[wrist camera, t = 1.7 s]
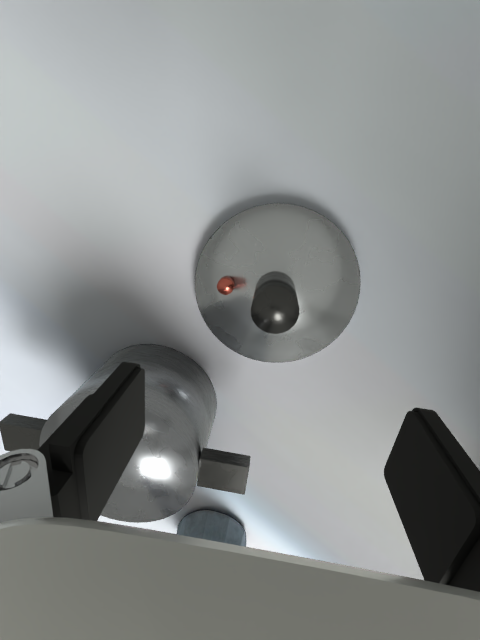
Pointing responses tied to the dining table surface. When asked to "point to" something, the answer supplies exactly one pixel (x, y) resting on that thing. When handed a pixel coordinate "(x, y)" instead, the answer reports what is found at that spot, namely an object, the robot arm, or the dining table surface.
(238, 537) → the moka pot
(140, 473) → the cooker pot
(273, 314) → the lid
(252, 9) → the dining table surface
